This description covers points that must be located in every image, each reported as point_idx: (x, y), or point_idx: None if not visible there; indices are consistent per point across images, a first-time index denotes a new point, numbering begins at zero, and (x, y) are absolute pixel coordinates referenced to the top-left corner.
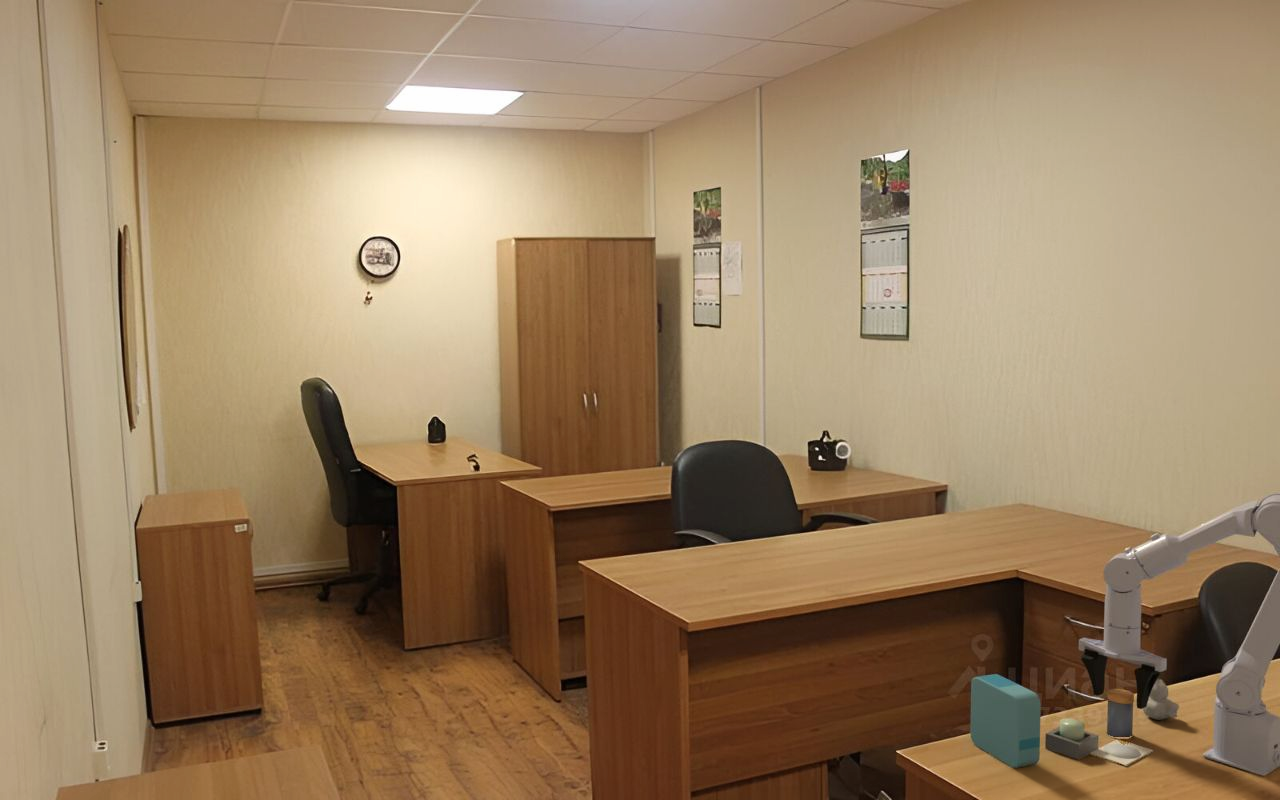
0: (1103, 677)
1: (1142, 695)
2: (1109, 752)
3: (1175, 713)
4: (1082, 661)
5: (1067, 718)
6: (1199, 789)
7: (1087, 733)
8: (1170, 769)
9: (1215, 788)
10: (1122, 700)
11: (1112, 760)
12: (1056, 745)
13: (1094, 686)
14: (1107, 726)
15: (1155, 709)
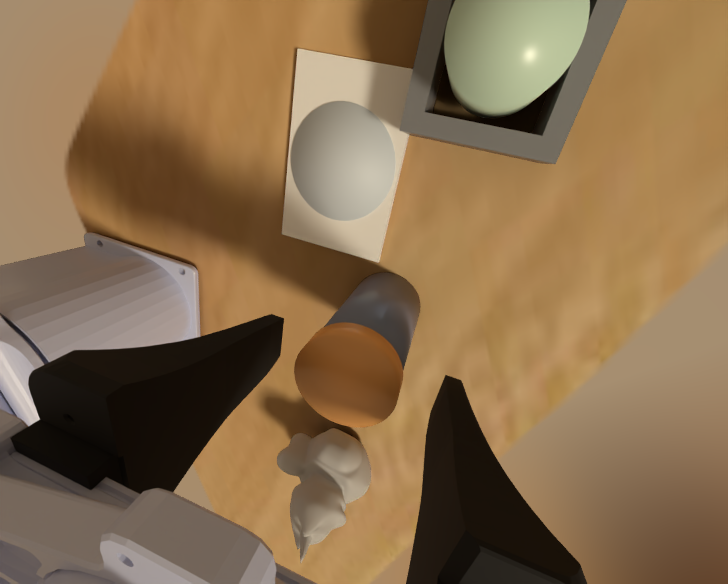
0: (425, 475)
1: (221, 332)
2: (367, 121)
3: (290, 442)
4: (563, 547)
5: (548, 86)
6: (117, 40)
7: (442, 120)
8: (213, 136)
9: (104, 83)
10: (327, 331)
11: (341, 56)
12: None
13: (458, 401)
14: (413, 302)
15: (324, 442)
